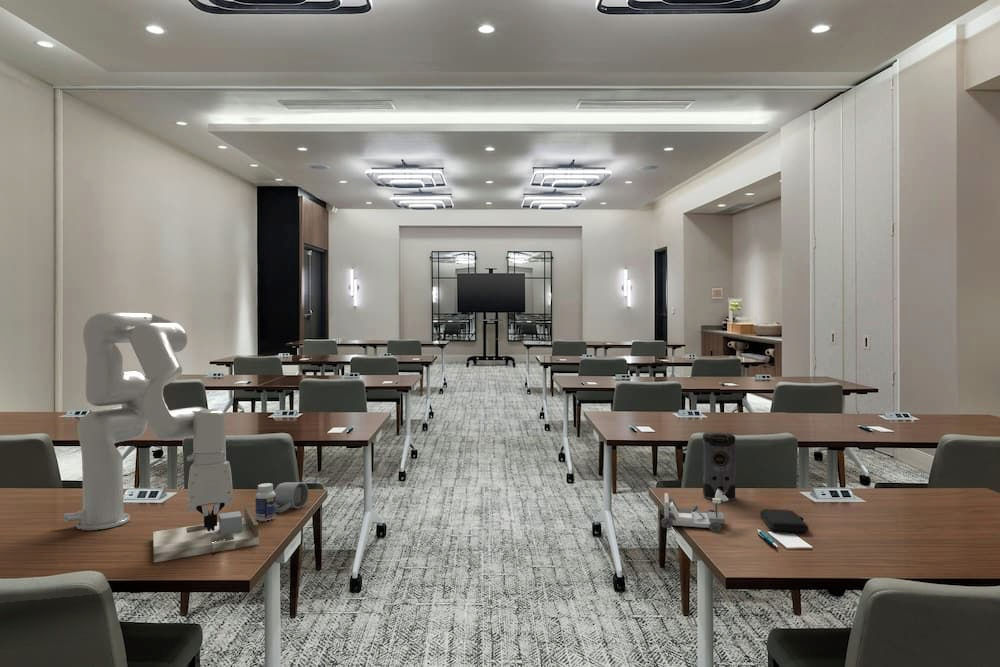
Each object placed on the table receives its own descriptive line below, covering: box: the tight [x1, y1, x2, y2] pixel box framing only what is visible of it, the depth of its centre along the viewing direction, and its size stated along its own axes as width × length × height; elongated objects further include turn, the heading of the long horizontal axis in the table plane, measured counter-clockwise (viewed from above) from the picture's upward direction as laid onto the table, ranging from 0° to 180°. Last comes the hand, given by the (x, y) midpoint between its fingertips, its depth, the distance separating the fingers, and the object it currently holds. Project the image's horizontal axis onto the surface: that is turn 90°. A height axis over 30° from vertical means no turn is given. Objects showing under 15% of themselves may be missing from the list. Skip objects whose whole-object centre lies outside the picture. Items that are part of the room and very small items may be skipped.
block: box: [218, 510, 243, 535], centre depth 158 cm, size 5×5×4 cm
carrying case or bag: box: [759, 508, 809, 535], centre depth 166 cm, size 11×3×15 cm
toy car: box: [660, 489, 729, 532], centre depth 168 cm, size 18×10×12 cm
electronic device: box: [702, 432, 736, 501], centre depth 193 cm, size 9×6×20 cm, turn 80°
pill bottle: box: [255, 482, 277, 522], centre depth 174 cm, size 5×5×10 cm
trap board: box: [152, 506, 260, 563], centre depth 155 cm, size 23×18×5 cm
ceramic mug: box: [273, 481, 310, 514], centre depth 184 cm, size 11×8×8 cm
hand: (210, 529), depth 156 cm, fingers closed
